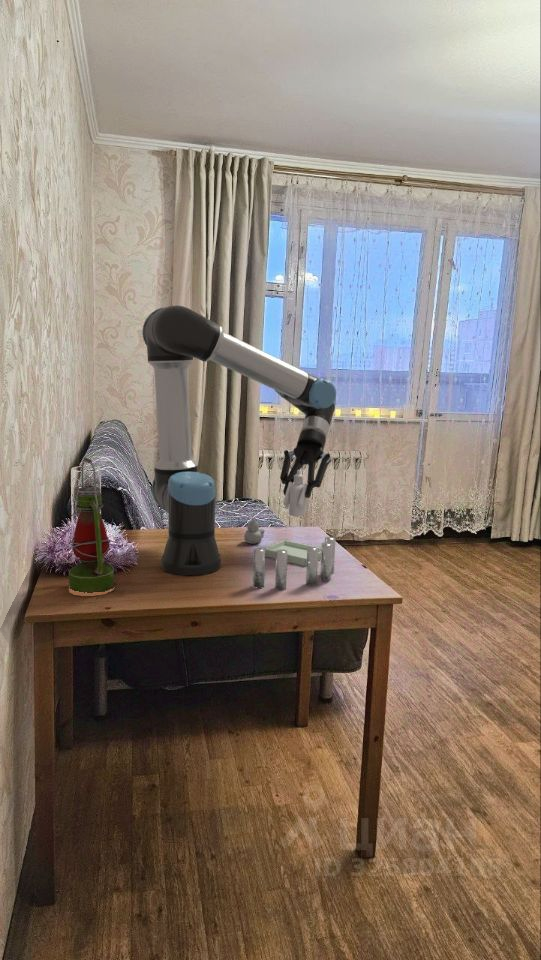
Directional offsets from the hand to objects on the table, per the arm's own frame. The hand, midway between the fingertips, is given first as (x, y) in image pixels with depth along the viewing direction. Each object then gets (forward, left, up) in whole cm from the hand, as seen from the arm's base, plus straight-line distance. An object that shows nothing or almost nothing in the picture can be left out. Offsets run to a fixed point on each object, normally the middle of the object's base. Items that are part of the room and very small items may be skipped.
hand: (293, 505), depth 166 cm
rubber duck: (-17, +6, -15) cm, 24 cm away
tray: (-1, +3, -15) cm, 15 cm away
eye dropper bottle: (-1, +4, -3) cm, 5 cm away
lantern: (-24, -47, -15) cm, 55 cm away
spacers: (+10, -12, -15) cm, 22 cm away
